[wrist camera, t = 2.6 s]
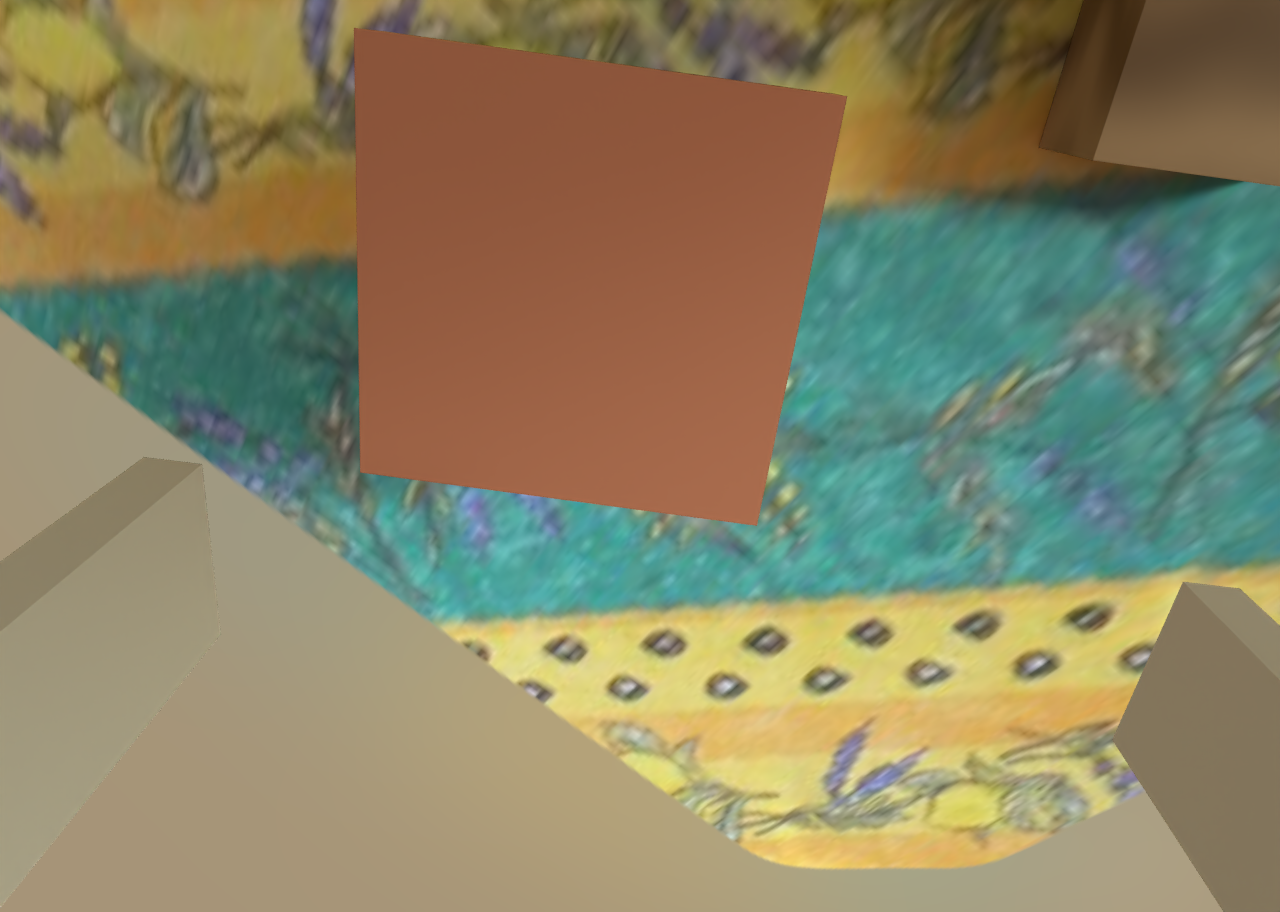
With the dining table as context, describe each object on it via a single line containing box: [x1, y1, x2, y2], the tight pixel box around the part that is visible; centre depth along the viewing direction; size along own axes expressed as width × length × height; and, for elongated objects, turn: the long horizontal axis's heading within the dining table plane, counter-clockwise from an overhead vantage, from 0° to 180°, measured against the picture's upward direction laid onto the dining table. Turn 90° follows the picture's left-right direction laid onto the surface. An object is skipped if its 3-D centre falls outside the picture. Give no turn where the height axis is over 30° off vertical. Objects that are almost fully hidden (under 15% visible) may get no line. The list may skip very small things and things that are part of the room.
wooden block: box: [1039, 0, 1280, 186], centre depth 27 cm, size 8×8×4 cm
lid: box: [354, 28, 847, 526], centre depth 24 cm, size 12×12×3 cm
